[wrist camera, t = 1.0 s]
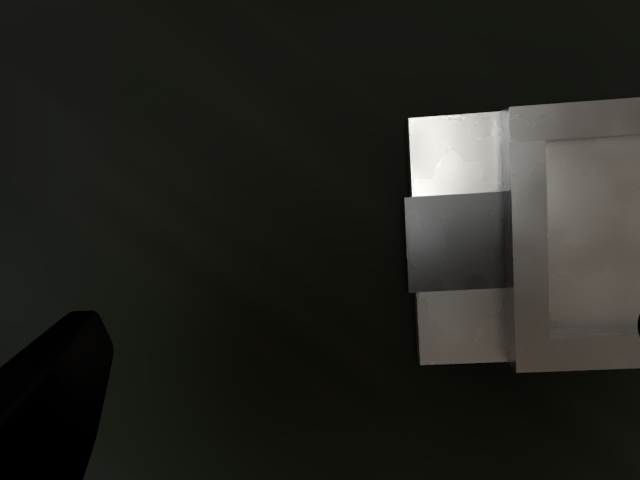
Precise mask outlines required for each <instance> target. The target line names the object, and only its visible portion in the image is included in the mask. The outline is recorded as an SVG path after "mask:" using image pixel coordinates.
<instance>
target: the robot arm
mask: <svg viewBox="0 0 640 480" xmlns="http://www.w3.org/2000/svg"><path fill="white" fill-rule="evenodd" d="M637 328H638V333H639V337H640V314H639V317H638V322H637ZM112 359H113V344H112V341H111V339H110V337H109V335H108V333H107V331H106V328H105V326H104V324H103V322H102V320H101V318H100V316H99V314H98V313H96V312H95V311H92V310H89V311H73V312H70V313H68V314H67V315H65V316H64V317H63V318H62V319H60V320H59V321H58V322H57V323H55V324H54V325H53V326H52V327H50V328H49V329H48V330H47V331H45V332H44V333H43V334H42V335H40V336H39V337H38V338H37V339H35V340H34V341H33V342H32V343H30V344H29V345H28V346H27V347H25V348H24V349H23V350H22V351H20V352H19V353H18V354H17V355H15V356H14V357H13V358H12V359H10V360H9V361H8V362H7V363H5V364H4V365H3V366H2V367H0V480H83V478H84V475H85V471H86V468H87V465H88V462H89V459H90V456H91V453H92V450H93V446H94V443H95V440H96V435H97V431H98V427H99V423H100V418H101V413H102V408H103V403H104V398H105V393H106V389H107V384H108V379H109V374H110V369H111V364H112Z"/></svg>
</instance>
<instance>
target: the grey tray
mask: <svg viewBox="0 0 640 480" xmlns="http://www.w3.org/2000/svg"><path fill="white" fill-rule="evenodd" d="M406 132H407V153H408V174H409V195H410V197H404V210H405V230H406V251H407V271H408V291H409V293H414V299H415V320H416V341H417V358H418V361H419V364H420V365H437V364H462V363H488V362H508V363H509V365H510V366H511V367H512V368H513V369H514V371H515V372H516V373H526V372H552V371H578V370H604V369H630V368H640V337H639V333H638V328H637V322H638V317H639V314H640V97H638V98H625V99H611V100H598V101H585V102H571V103H558V104H544V105H531V106H518V107H508V108H506V109H504V110H502V111H499V112H485V113H472V114H458V115H445V116H431V117H418V118H408V119H407V120H406Z"/></svg>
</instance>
